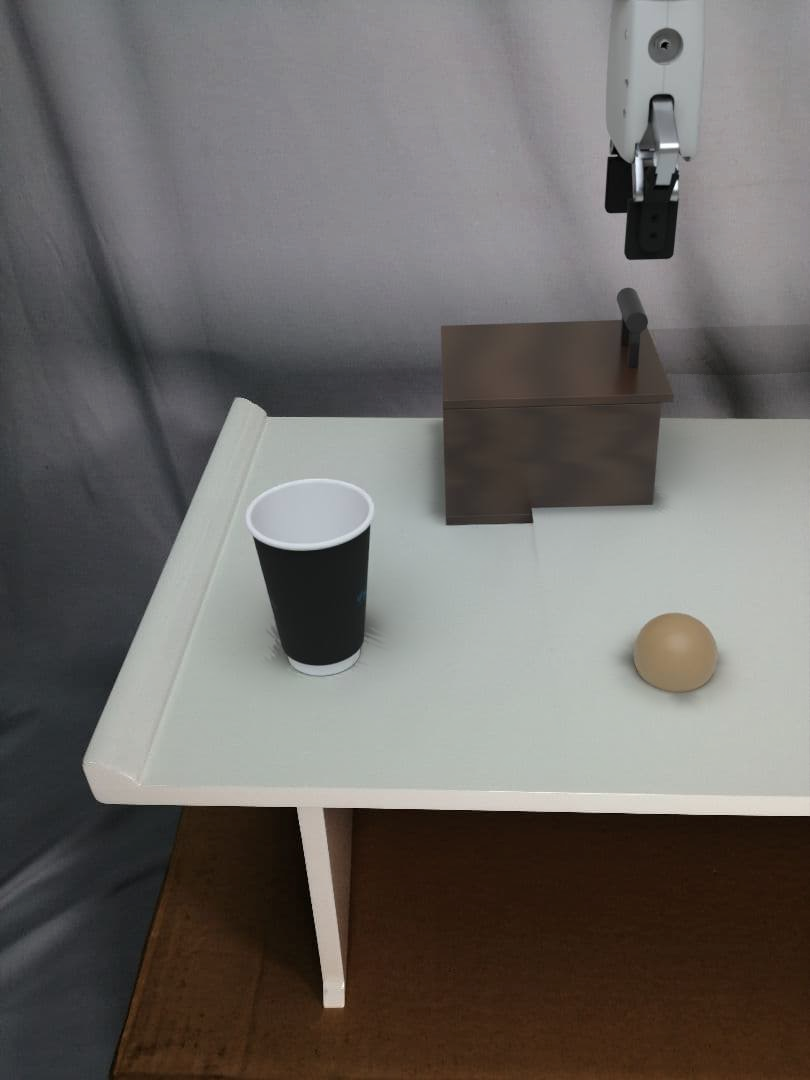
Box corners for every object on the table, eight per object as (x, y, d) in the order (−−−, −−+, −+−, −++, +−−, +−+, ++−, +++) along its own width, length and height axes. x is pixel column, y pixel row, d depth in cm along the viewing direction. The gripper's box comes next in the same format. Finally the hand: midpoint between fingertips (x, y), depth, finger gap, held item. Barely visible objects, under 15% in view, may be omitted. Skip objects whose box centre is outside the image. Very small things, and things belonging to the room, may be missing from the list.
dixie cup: (408, 656, 76) (401, 512, 70) (307, 709, 73) (291, 562, 67) (338, 602, 82) (326, 464, 76) (240, 648, 78) (219, 507, 72)
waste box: (626, 435, 100) (633, 327, 95) (651, 519, 89) (661, 403, 84) (443, 440, 101) (440, 334, 96) (445, 525, 90) (442, 409, 84)
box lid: (643, 326, 95) (648, 266, 92) (673, 402, 84) (679, 335, 81) (440, 333, 96) (439, 273, 93) (442, 409, 84) (441, 343, 81)
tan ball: (704, 658, 75) (712, 595, 72) (720, 711, 71) (729, 645, 68) (625, 660, 75) (630, 597, 72) (637, 712, 71) (643, 647, 68)
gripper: (751, -16, 66) (716, 277, 75) (691, -55, 80) (668, 194, 90) (617, -11, 66) (599, 280, 75) (581, -51, 80) (569, 197, 90)
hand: (636, 233), depth 83 cm, fingers open, 9 cm apart
